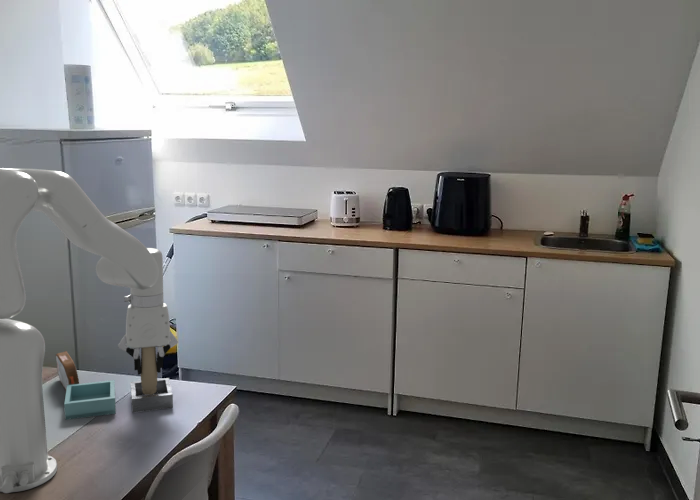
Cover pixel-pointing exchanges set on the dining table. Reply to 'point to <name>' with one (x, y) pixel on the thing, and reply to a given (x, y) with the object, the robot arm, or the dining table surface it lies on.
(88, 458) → the dining table surface
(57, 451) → the dining table surface
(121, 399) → the dining table surface
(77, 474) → the dining table surface
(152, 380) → the handle
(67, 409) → the tray
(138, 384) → the collar
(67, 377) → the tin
